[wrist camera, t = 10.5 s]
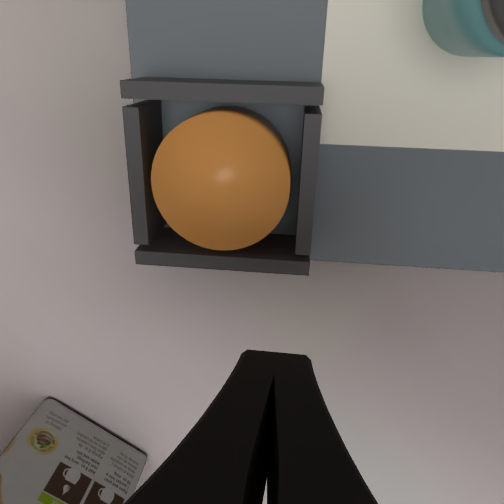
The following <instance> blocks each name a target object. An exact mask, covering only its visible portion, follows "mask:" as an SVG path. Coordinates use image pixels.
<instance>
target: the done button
mask: <svg viewBox="0 0 504 504" xmlns="http://www.w3.org/2000/svg"><path fill="white" fill-rule="evenodd" d="M290 184H291V160H290V155H289V152H288V149H287V146H286V144H285V142H284V140H283V138H282V137H281V135H280V134H279V132H278V131H277V130H276V128H275V127H274V126H273V125H272V124H271V123H270V122H269V121H267V120H266V119H265V118H263V117H262V116H260V115H258V114H257V113H255V112H252V111H250V110H247V109H244V108H240V107H233V106H220V107H214V108H210V109H207V110H204V111H202V112H200V113H198V114H196V115H194V116H193V117H191V118H189V119H187V120H186V121H184V122H182V123H181V124H179V125H178V126H176V127H175V128H174V129H173V130H172V131H171V132H169V133H168V135H167V136H166V137H165V138H164V139H163V141H162V142H161V144H160V146H159V147H158V149H157V152H156V154H155V157H154V160H153V164H152V170H151V186H152V192H153V196H154V200H155V202H156V205H157V207H158V209H159V211H160V213H161V215H162V216H163V218H164V219H165V221H166V222H167V223H168V224H169V226H170V227H171V228H172V229H173V230H174V231H175V232H177V233H178V234H179V235H180V236H182V237H183V238H185V239H186V240H188V241H190V242H192V243H193V244H196V245H198V246H201V247H204V248H208V249H212V250H237V249H241V248H245V247H247V246H250V245H253V244H255V243H256V242H258V241H260V240H261V239H263V238H264V237H266V236H267V235H268V234H269V233H270V232H271V231H272V230H273V229H274V228H275V227H276V225H277V224H278V223H279V221H280V220H281V218H282V216H283V214H284V212H285V210H286V207H287V204H288V200H289V193H290Z"/></svg>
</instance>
